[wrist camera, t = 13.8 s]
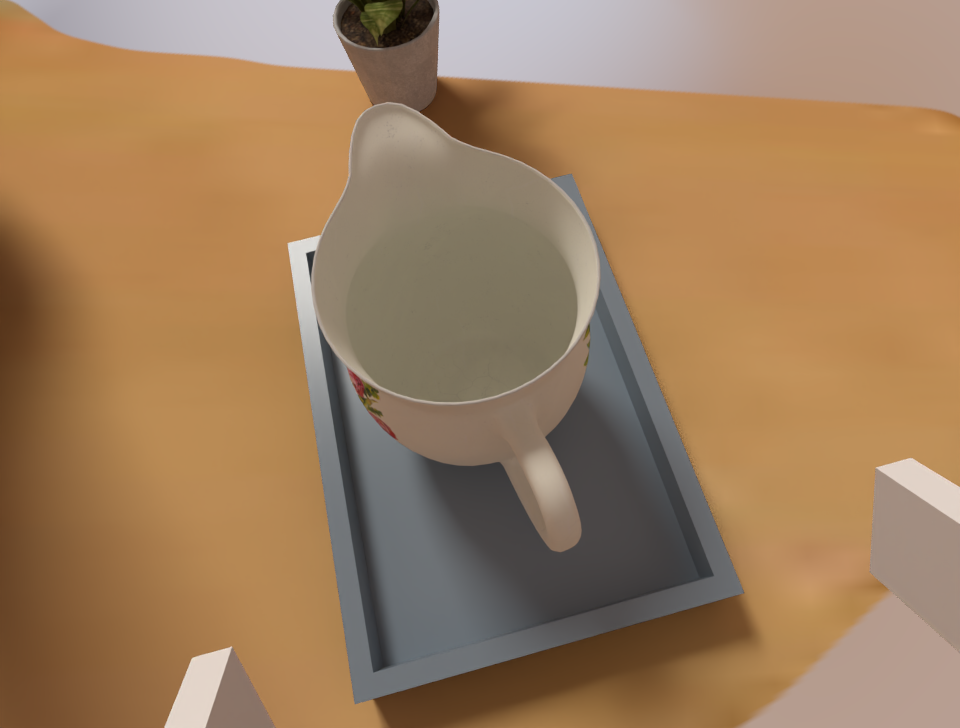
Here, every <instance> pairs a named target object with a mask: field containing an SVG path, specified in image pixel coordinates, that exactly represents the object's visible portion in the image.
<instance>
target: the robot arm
mask: <svg viewBox="0 0 960 728" xmlns="http://www.w3.org/2000/svg"><path fill="white" fill-rule="evenodd" d="M870 573H871V574H872V575H873V576H875V577H876V578H877V579H878V580H879V581H880V582H881V583H882V584H883V585H885V586H886V587H887V588H888V589H889V590H890V591H891V592H892V593H893V594H895V595H896V596H897V597H898V598H899V599H900V600H901V601H902V602H904V603H905V604H906V605H907V606H908V607H909V608H910V609H911V610H912V611H914V612H915V613H916V614H917V615H918V616H919V617H920V618H922V620H924V621H925V622H926V623H927V624H928V625H929V626H930V627H931V628H932V629H934V630H935V631H936V632H937V633H938V634H939V635H940V636H941V637H943V638H944V639H945V640H946V641H947V642H948V643H949V644H950V645H951V646H953V647H954V648H955V649H956V650H957V651H958V652H960V487H958V486H957V485H955V484H953V483H952V482H950V481H949V480H947V479H945V478H944V477H942V476H940V475H939V474H937V473H935V472H934V471H932V470H930V469H929V468H927V467H925V466H924V465H922V464H920V463H919V462H917V461H915V460H914V459H912V458H909V459H905V460H902V461H898V462H895V463H891V464H887V465H884V466H880V467H877V468H876V471H875V488H874V506H873V523H872V541H871V558H870ZM164 728H275V726H274V724H273V722H272V720H271V718H270V717H269V715H268V713H267V711H266V709H265V707H264V705H263V704H262V702H261V700H260V698H259V696H258V694H257V692H256V690H255V689H254V687H253V685H252V683H251V681H250V679H249V677H248V675H247V674H246V672H245V670H244V668H243V666H242V664H241V662H240V661H239V659H238V657H237V655H236V653H235V651H234V649H233V647H229V648H226V649H222V650H218V651H215V652H211V653H208V654H204V655H200V656H197V657H193V658H192V660H191V662H190V665H189V667H188V670H187V672H186V675H185V677H184V680H183V682H182V685H181V687H180V690H179V692H178V695H177V697H176V700H175V702H174V705H173V707H172V710H171V712H170V715H169V717H168V720H167V722H166V725H165V727H164Z"/></svg>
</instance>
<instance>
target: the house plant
mask: <svg viewBox="0 0 960 728" xmlns="http://www.w3.org/2000/svg"><path fill="white" fill-rule="evenodd" d="M333 26H334V28H335V31H336V33H337V35H338V37H339V39H340V41H341V43H342V45H343V47H344V49H345V51H346V53H347V54H348V57H349V59H350V61H351V63H352V65H353V67H354V69H355V71H356V73H357V75H358V77H359V79H360V81H361V83H362V85H363V87H364V89H365V91H366V93H367V95H368V97H369V99H370V100H371V102H372V103H373V105H377V104H382V103H386V102H391V103H399V104H403V105H405V106H407V107H410V108H412V109H414V110H416V111H418V112H420V111H421V110H423V109H425V108H426V107H427V106H428V105H429V104H430V103H431V102H432V101H433V99H434V97H435V95H436V90H437V64H438V34H439V5H438V1H437V0H340V1H339V3H338V4H337V6H336V8H335V12H334V14H333Z"/></svg>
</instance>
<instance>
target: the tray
mask: <svg viewBox="0 0 960 728" xmlns="http://www.w3.org/2000/svg"><path fill="white" fill-rule="evenodd" d="M551 180H552V181H553V182H554V183H555V184H557V185H558V186H559V187H560V188H561V189H562V190H563V191H564V192H565V193H566V194H567V195H568V196H569V197H570V198H571V199H572V200H573V201H574V203H575V204H576V206H577V207H578V208H579V210H580V211H581V213H582V214H583V215H584V217H585V219H586V221H587V223H588V225H589V227H590V229H591V231H592V233H593V236H594V239H595V242H596V245H597V249H598V254H599V259H600V274H601V279H600V289H599V296H598V300H597V303H596V307H595V311H594V314H593V316H592V318H591V321H590V348H589V357H588V364H587V367H586V371H585V375H584V378H583V381H582V384H581V386H580V389H579V391H578V393H577V396H576V398H575V400H574V401H573V403H572V405H571V406H570V408H569V410H568V411H567V413H566V415H565V416H564V417H563V419H562V420H561V421H560V422H559V424H558V425H557V426H556V427H555V428H554V429H553V430H552V431H551V432H550V433H549V434H548V435H547V436H546V437H545V438H546V440H547V442H548V443H549V445H550V447H551V449H552V451H553V452H554V454H555V456H556V458H557V460H558V462H559V464H560V466H561V468H562V470H563V473H564V475H565V477H566V479H567V482H568V484H569V487H570V489H571V492H572V495H573V498H574V501H575V504H576V507H577V510H578V514H579V518H580V522H581V529H582V532H581V537H580V539H579V541H578V543H577V544H576V545H575V546H573V547H572V548H570V549H568V550H565V551H563V552H557V551H553V550H551V549H550V548H549V547H548V546H547V545H546V543H545V542H544V540H543V539H542V538H541V536H540V535H539V533H538V531H537V530H536V528H535V526H534V525H533V523H532V521H531V519H530V518H529V516H528V514H527V512H526V510H525V508H524V506H523V505H522V503H521V501H520V499H519V497H518V495H517V493H516V491H515V489H514V487H513V485H512V483H511V481H510V479H509V477H508V475H507V473H506V471H505V468H504V466H503V465H502V464H501V463H500V462H495V463H491V464H484V465H476V466H458V465H452V464H446V463H442V462H438V461H435V460H432V459H429V458H426V457H424V456H422V455H420V454H418V453H416V452H413V451H411V450H410V449H408V448H407V447H405V446H403V445H402V444H400V443H399V442H398V441H396V440H395V439H394V438H393V437H392V436H390V435H389V434H388V433H387V432H386V431H385V430H383V429H382V428H381V426H380V425H379V424H378V423H377V422H376V421H375V420H374V418H373V417H372V416H371V415H370V414H369V412H368V411H367V409H366V408H365V406H364V405H363V403H362V402H361V400H360V398H359V397H358V395H357V393H356V390H355V388H354V386H353V384H352V382H351V380H350V376H349V373H348V370H347V367H346V365H345V364H344V363H343V362H342V361H341V360H340V359H339V358H338V357H337V355H336V354H335V353H334V351H333V350H332V348H331V347H330V345H329V344H328V342H327V341H326V339H325V337H324V335H323V333H322V330H321V328H320V326H319V324H318V320H317V317H316V314H315V310H314V306H313V299H312V291H311V274H312V267H313V260H314V255H315V251H316V248H317V244H318V241H319V238H320V236H321V235H320V236H316V237H312V238H308V239H304V240H300V241H295V242H291V243H288V249H289V256H290V263H291V270H292V277H293V284H294V290H295V297H296V304H297V311H298V318H299V325H300V332H301V338H302V345H303V352H304V359H305V366H306V373H307V380H308V386H309V393H310V400H311V407H312V414H313V421H314V428H315V435H316V441H317V448H318V455H319V462H320V469H321V476H322V483H323V489H324V496H325V503H326V510H327V517H328V524H329V531H330V537H331V544H332V551H333V558H334V565H335V572H336V579H337V585H338V592H339V599H340V606H341V613H342V620H343V627H344V633H345V640H346V647H347V654H348V661H349V668H350V675H351V681H352V688H353V695H354V702H355V704H357V703H361V702H364V701H368V700H371V699H375V698H378V697H382V696H385V695H389V694H392V693H396V692H399V691H403V690H406V689H410V688H413V687H417V686H420V685H424V684H427V683H431V682H434V681H438V680H441V679H445V678H448V677H452V676H455V675H459V674H462V673H466V672H469V671H473V670H476V669H480V668H483V667H487V666H490V665H494V664H497V663H501V662H504V661H508V660H511V659H515V658H518V657H522V656H525V655H529V654H532V653H536V652H539V651H543V650H546V649H550V648H553V647H557V646H560V645H564V644H567V643H571V642H574V641H578V640H581V639H585V638H588V637H592V636H595V635H599V634H602V633H606V632H610V631H613V630H617V629H620V628H624V627H627V626H631V625H634V624H638V623H641V622H645V621H648V620H652V619H655V618H659V617H662V616H666V615H669V614H673V613H676V612H680V611H683V610H687V609H690V608H694V607H697V606H701V605H704V604H708V603H711V602H715V601H718V600H722V599H725V598H729V597H732V596H736V595H739V594H743V593H744V591H743V589H742V586H741V584H740V581H739V579H738V577H737V574H736V572H735V569H734V567H733V564H732V562H731V560H730V557H729V555H728V552H727V550H726V547H725V545H724V543H723V540H722V538H721V535H720V533H719V530H718V528H717V526H716V523H715V521H714V518H713V516H712V513H711V511H710V509H709V506H708V504H707V501H706V499H705V496H704V494H703V492H702V489H701V487H700V484H699V482H698V479H697V477H696V475H695V472H694V470H693V467H692V465H691V462H690V460H689V458H688V455H687V453H686V450H685V448H684V445H683V443H682V441H681V438H680V436H679V433H678V431H677V428H676V426H675V424H674V421H673V419H672V416H671V414H670V411H669V409H668V406H667V404H666V402H665V399H664V397H663V394H662V392H661V389H660V387H659V385H658V382H657V380H656V377H655V375H654V372H653V370H652V368H651V365H650V363H649V360H648V358H647V355H646V353H645V351H644V348H643V346H642V343H641V341H640V338H639V336H638V334H637V331H636V329H635V326H634V324H633V321H632V319H631V317H630V314H629V312H628V309H627V307H626V304H625V302H624V300H623V297H622V295H621V292H620V290H619V287H618V285H617V283H616V280H615V278H614V275H613V273H612V270H611V268H610V266H609V263H608V261H607V258H606V256H605V253H604V251H603V249H602V246H601V244H600V241H599V239H598V236H597V234H596V232H595V229H594V227H593V224H592V222H591V219H590V217H589V215H588V212H587V210H586V207H585V205H584V202H583V200H582V198H581V195H580V193H579V190H578V188H577V185H576V183H575V181H574V178H573V176H572V174H568V175H564V176H560V177H556V178H552V179H551Z"/></svg>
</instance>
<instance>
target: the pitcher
mask: <svg viewBox="0 0 960 728" xmlns="http://www.w3.org/2000/svg"><path fill="white" fill-rule="evenodd" d="M600 279H601V274H600V259H599V254H598V249H597V245H596V242H595V239H594V236H593V233H592V231H591V229H590V227H589V225H588V223H587V221H586V219H585V217H584V215H583V214H582V213H581V211H580V210H579V208H578V207H577V206H576V204H575V203H574V201H573V200H572V199H571V198H570V197H569V196H568V195H567V194H566V193H565V192H564V191H563V190H562V189H561V188H560V187H559V186H558V185H557V184H555V183H554V182H553V181H552V180H551V179H549V178H548V177H546V176H545V175H543V174H542V173H540V172H539V171H537V170H536V169H534V168H532V167H530V166H528V165H526V164H525V163H523V162H521V161H518V160H516V159H513V158H510V157H508V156H505V155H502V154H499V153H495V152H492V151H488V150H485V149H481V148H477V147H474V146H471V145H468V144H466V143H463V142H461V141H459V140H457V139H455V138H453V137H451V136H450V135H449V134H447V133H446V132H445V131H444V130H443V129H442V128H440V127H439V126H438V125H437V124H435V123H434V122H433V121H431V120H430V119H428V118H427V117H425V116H424V115H422V114H421V113H419V112H418V111H416V110H414V109H412V108H410V107H407V106H405V105H403V104H399V103H391V102H386V103H382V104H377V105H374V106H373V107H371V108H369V109H367V110H365V111H364V112H363V113H362V114H361V116H360V117H359V118H358V119H357V120H356V123H355V126H354V129H353V132H352V135H351V142H350V150H349V177H348V180H347V184H346V187H345V189H344V191H343V194H342V196H341V198H340V200H339V201H338V203H337V205H336V207H335V208H334V210H333V212H332V214H331V216H330V217H329V219H328V221H327V223H326V224H325V227H324V229H323V231H322V234H321V236H320V238H319V241H318V244H317V248H316V251H315V255H314V260H313V267H312V274H311V291H312V299H313V306H314V310H315V314H316V317H317V320H318V324H319V326H320V328H321V330H322V333H323V335H324V337H325V339H326V341H327V342H328V344H329V345H330V347H331V348H332V350H333V351H334V353H335V354H336V355H337V357H338V358H339V359H340V360H341V361H342V362H343V363H344V364H345V365H346V367H347V370H348V373H349V376H350V380H351V382H352V384H353V386H354V388H355V390H356V393H357V395H358V397H359V398H360V400H361V402H362V403H363V405H364V406H365V408H366V409H367V411H368V412H369V414H370V415H371V416H372V417H373V418H374V420H375V421H376V422H377V423H378V424H379V425H380V426H381V428H382V429H383V430H385V431H386V432H387V433H388V434H389V435H390V436H392V437H393V438H394V439H395V440H396V441H398V442H399V443H400V444H402V445H403V446H405V447H407V448H408V449H410V450H411V451H413V452H416V453H418V454H420V455H422V456H424V457H426V458H429V459H432V460H435V461H438V462H442V463H446V464H452V465H458V466H476V465H484V464H491V463H495V462H500V463H501V464H502V465H503V466H504V468H505V471H506V473H507V475H508V477H509V479H510V481H511V483H512V485H513V487H514V489H515V491H516V493H517V495H518V497H519V499H520V501H521V503H522V505H523V506H524V508H525V510H526V512H527V514H528V516H529V518H530V519H531V521H532V523H533V525H534V526H535V528H536V530H537V531H538V533H539V535H540V536H541V538H542V539H543V540H544V542H545V543H546V545H547V546H548V547H549V548H550V549H551V550H553V551H557V552H563V551H565V550H568V549H570V548H572V547H573V546H575V545H576V544H577V543H578V541H579V539H580V537H581V532H582V529H581V522H580V518H579V514H578V510H577V507H576V504H575V501H574V498H573V495H572V492H571V489H570V487H569V484H568V482H567V479H566V477H565V475H564V473H563V470H562V468H561V466H560V464H559V462H558V460H557V458H556V456H555V454H554V452H553V451H552V449H551V447H550V445H549V443H548V442H547V440H546V438H545V437H546V436H547V435H548V434H549V433H550V432H551V431H552V430H553V429H554V428H555V427H556V426H557V425H558V424H559V422H560V421H561V420H562V419H563V417H564V416H565V415H566V413H567V411H568V410H569V408H570V406H571V405H572V403H573V401H574V400H575V398H576V396H577V393H578V391H579V389H580V386H581V384H582V381H583V378H584V375H585V371H586V367H587V364H588V357H589V348H590V321H591V318H592V316H593V314H594V311H595V307H596V303H597V300H598V296H599V289H600Z"/></svg>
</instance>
